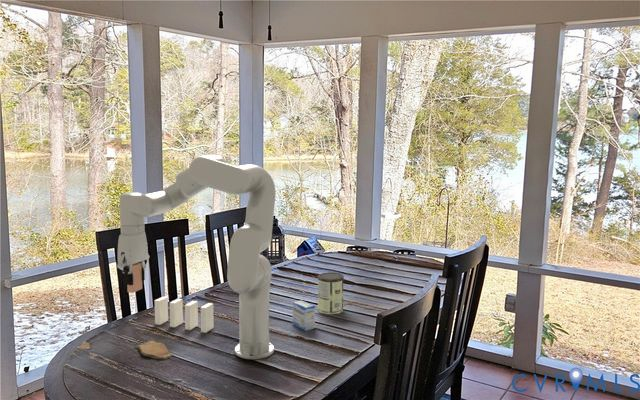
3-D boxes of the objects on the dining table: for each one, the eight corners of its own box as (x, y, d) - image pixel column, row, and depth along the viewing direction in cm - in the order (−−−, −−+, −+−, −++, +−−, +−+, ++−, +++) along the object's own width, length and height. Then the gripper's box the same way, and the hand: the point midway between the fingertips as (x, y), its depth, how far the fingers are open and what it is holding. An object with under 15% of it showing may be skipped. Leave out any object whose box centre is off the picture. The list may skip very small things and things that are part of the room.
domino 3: (213, 327, 184) (213, 303, 183) (205, 332, 180) (205, 308, 179) (208, 326, 185) (208, 302, 184) (201, 331, 180) (200, 307, 179)
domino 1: (183, 322, 189) (182, 299, 188) (174, 327, 184) (174, 303, 183) (178, 322, 189) (177, 298, 188) (170, 326, 185) (169, 302, 184)
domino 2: (198, 325, 187) (197, 301, 185) (190, 330, 182) (189, 305, 181) (193, 324, 187) (193, 300, 186) (185, 329, 183) (184, 304, 181)
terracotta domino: (142, 288, 176) (141, 263, 174) (132, 292, 171) (131, 266, 170) (137, 288, 176) (136, 262, 175) (127, 292, 172) (126, 265, 171)
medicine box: (292, 324, 188) (292, 302, 187) (301, 322, 191) (301, 299, 190) (305, 331, 182) (305, 307, 181) (315, 328, 185) (315, 305, 184)
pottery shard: (179, 358, 163) (151, 342, 172) (179, 351, 162) (151, 335, 171) (156, 368, 156) (128, 350, 165) (156, 360, 156) (128, 343, 165)
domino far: (168, 320, 191) (167, 297, 190) (159, 325, 186) (159, 301, 185) (163, 319, 192) (163, 296, 191) (155, 324, 187) (154, 300, 186)
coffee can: (325, 304, 211) (325, 270, 210) (347, 308, 206) (348, 274, 204) (312, 311, 203) (312, 276, 201) (335, 316, 197) (335, 280, 196)
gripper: (140, 224, 180) (142, 274, 183) (105, 233, 164) (107, 288, 167) (158, 226, 178) (160, 277, 180) (123, 235, 162) (126, 290, 164)
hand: (134, 281), depth 173 cm, fingers closed on terracotta domino, 4 cm apart
